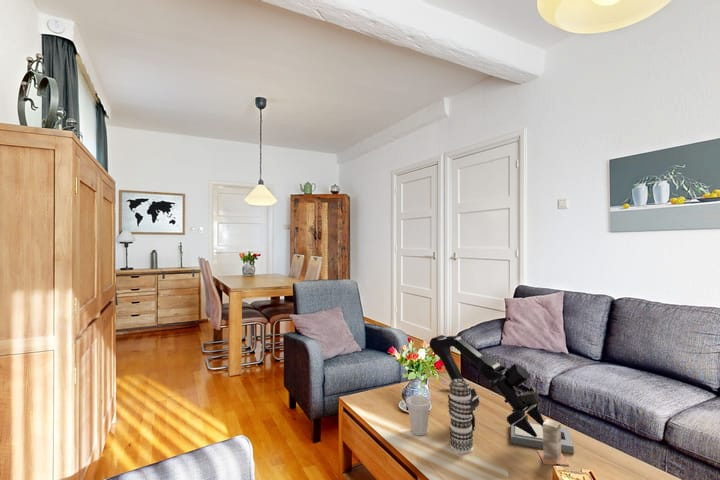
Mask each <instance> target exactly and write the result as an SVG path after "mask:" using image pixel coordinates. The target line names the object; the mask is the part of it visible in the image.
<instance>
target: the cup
mask: <svg viewBox="0 0 720 480" xmlns="http://www.w3.org/2000/svg"><path fill="white" fill-rule="evenodd" d="M405 401H406V406H407V410H408V416H409V421H410V423H409V424H410V429H411V433H412V434H413V435H416V436H424V435H426V434H427V433H428V427H429V426H428V424H429V417H430V416H429V415H430V408H431V403H432V400H431V399H430V397H429V398H428V397H427V396H424V395H412V396H409V397H407V398H406V400H405Z"/></svg>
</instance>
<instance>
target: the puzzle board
mask: <svg viewBox="0 0 720 480" xmlns="http://www.w3.org/2000/svg"><path fill="white" fill-rule="evenodd" d="M529 423H530V425H531V426H532V428H533V429H534V431H535V432H536V434H537V437H533V436H532V435H530V434H529V433H527V432H525V431H524V430H522V429H520V428H518V427H516V426H513V424H512V425H510V443H511V444H515V445H522V446H526V447H527V446H528V447H533V448H534V447H535V448H539V449H543V427H542V426H541V425H540V424H539V423H537V422H529ZM514 424H515V423H514ZM574 449H575V448H574V443H573V440H572V437H571V434H570V430H569V428H568V427H564V426H561V453H562V452H563V453H568V454H574V452H575V450H574Z"/></svg>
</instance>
